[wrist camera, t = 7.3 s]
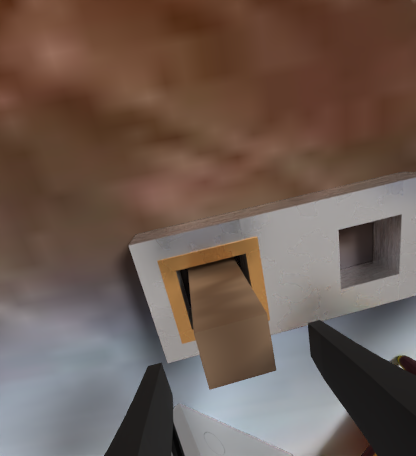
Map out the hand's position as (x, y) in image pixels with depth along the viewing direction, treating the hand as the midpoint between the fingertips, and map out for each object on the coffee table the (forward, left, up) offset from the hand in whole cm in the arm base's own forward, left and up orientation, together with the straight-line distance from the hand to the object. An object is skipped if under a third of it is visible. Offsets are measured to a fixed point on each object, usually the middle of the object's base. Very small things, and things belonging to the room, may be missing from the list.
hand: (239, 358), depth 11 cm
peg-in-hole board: (-6, 0, -8) cm, 10 cm away
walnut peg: (0, 0, -9) cm, 9 cm away
